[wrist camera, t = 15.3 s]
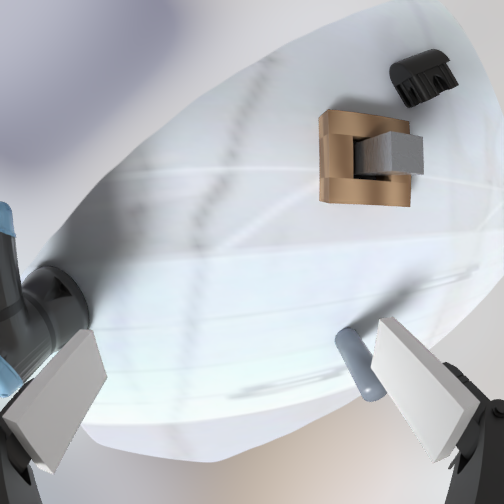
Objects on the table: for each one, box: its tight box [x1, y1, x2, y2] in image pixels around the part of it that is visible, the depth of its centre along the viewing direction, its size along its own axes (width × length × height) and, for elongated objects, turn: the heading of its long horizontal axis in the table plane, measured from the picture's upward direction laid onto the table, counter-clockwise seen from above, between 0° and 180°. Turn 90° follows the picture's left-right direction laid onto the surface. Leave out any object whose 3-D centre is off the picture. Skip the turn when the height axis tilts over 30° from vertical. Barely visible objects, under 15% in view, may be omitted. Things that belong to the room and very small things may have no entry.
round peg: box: [335, 328, 387, 402], centre depth 37 cm, size 4×4×14 cm
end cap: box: [389, 49, 459, 108], centre depth 32 cm, size 10×7×7 cm
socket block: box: [319, 109, 411, 207], centre depth 36 cm, size 12×12×5 cm
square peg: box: [353, 131, 424, 176], centre depth 31 cm, size 4×4×14 cm
